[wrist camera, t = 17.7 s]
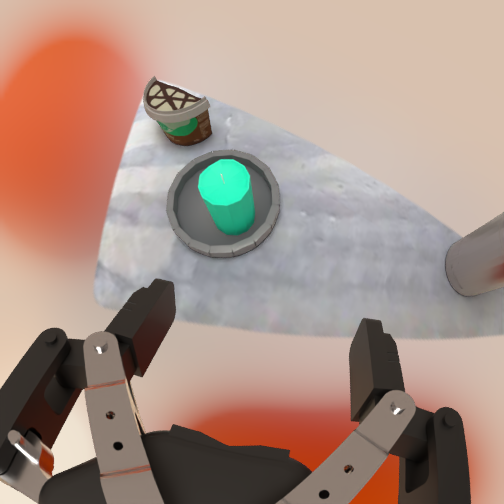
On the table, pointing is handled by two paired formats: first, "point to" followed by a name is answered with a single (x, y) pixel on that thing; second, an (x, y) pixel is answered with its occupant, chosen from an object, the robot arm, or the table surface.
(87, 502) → the robot arm
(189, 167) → the plate
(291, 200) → the table surface
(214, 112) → the table surface
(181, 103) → the food container
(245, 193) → the candle
